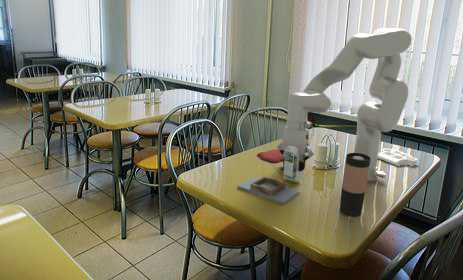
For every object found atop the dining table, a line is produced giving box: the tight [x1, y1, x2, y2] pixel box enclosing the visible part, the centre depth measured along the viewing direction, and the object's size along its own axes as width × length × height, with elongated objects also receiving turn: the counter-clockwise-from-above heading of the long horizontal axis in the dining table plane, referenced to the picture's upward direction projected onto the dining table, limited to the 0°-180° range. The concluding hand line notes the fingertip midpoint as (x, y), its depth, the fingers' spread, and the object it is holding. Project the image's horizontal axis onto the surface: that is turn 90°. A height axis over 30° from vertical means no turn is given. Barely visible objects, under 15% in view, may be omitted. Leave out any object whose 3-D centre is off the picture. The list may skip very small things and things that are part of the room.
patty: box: [256, 148, 283, 164], centre depth 175 cm, size 18×14×2 cm
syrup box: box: [282, 145, 304, 183], centre depth 145 cm, size 6×6×14 cm
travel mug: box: [339, 152, 371, 218], centre depth 122 cm, size 8×8×20 cm
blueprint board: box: [237, 176, 300, 205], centre depth 138 cm, size 20×12×1 cm, turn 52°
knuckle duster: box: [377, 148, 418, 167], centre depth 176 cm, size 3×18×15 cm
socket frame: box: [250, 176, 287, 196], centre depth 138 cm, size 10×10×2 cm
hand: (293, 167), depth 146 cm, fingers closed on syrup box, 6 cm apart
